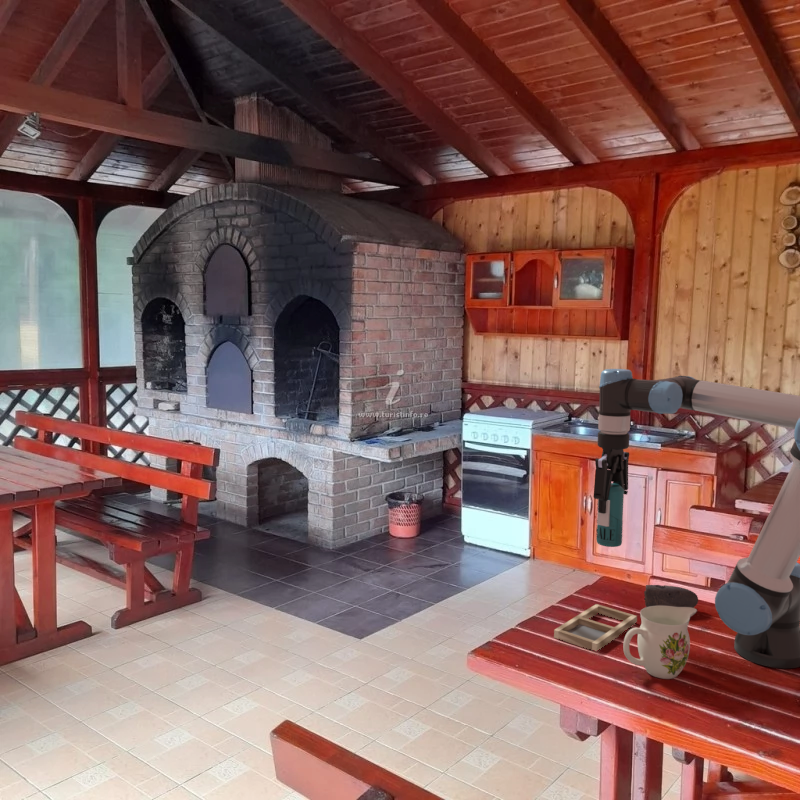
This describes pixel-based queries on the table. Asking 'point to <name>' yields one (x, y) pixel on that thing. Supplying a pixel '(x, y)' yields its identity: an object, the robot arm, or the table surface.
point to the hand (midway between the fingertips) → (610, 522)
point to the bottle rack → (594, 628)
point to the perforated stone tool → (669, 596)
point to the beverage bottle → (613, 517)
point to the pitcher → (661, 640)
